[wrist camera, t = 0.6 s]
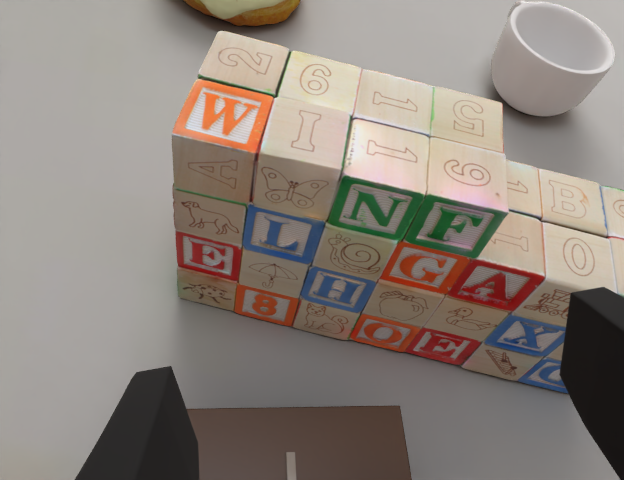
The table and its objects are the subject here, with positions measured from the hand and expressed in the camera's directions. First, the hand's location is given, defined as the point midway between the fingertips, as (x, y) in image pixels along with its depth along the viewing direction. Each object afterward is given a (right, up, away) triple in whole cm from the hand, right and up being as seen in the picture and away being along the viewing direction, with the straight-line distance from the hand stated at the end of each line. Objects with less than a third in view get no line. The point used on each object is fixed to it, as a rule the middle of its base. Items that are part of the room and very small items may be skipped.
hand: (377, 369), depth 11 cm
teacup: (+15, +14, +35) cm, 41 cm away
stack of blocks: (+3, -1, +22) cm, 22 cm away
